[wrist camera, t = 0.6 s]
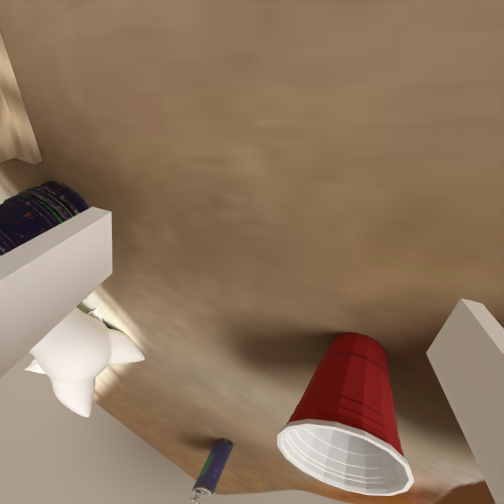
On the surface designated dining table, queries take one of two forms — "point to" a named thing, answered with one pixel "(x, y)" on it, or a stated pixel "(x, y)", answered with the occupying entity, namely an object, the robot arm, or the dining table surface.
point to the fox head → (81, 357)
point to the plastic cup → (349, 422)
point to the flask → (212, 469)
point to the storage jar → (37, 213)
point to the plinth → (14, 117)
